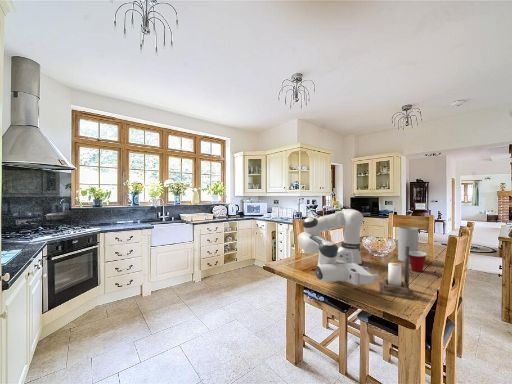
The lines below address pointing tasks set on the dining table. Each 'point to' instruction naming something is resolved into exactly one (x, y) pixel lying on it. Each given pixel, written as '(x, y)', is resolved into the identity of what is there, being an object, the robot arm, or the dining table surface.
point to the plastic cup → (417, 260)
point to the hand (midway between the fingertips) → (373, 272)
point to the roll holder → (404, 289)
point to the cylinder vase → (407, 241)
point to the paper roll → (394, 274)
